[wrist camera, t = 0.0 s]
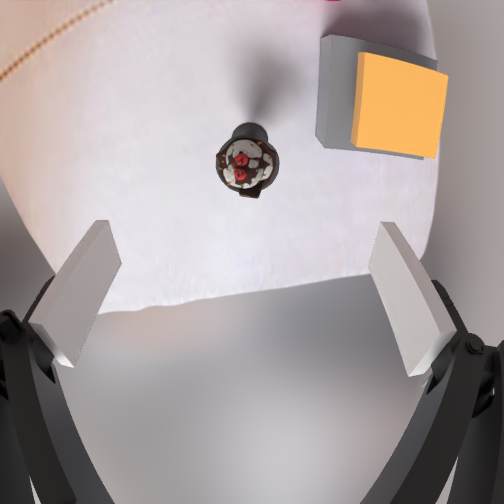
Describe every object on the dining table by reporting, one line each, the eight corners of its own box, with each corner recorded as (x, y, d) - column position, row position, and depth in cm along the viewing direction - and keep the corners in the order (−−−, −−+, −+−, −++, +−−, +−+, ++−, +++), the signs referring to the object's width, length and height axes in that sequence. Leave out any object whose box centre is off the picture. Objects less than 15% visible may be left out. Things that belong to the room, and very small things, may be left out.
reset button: (344, 53, 26) (364, 52, 20) (417, 69, 26) (448, 75, 20) (338, 130, 32) (356, 146, 26) (408, 140, 32) (434, 158, 26)
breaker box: (320, 38, 28) (331, 34, 23) (415, 58, 28) (437, 60, 23) (315, 135, 37) (324, 148, 32) (404, 146, 36) (423, 160, 32)
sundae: (236, 109, 35) (225, 136, 23) (282, 130, 36) (296, 169, 24) (217, 150, 38) (197, 199, 26) (260, 169, 40) (262, 225, 28)
